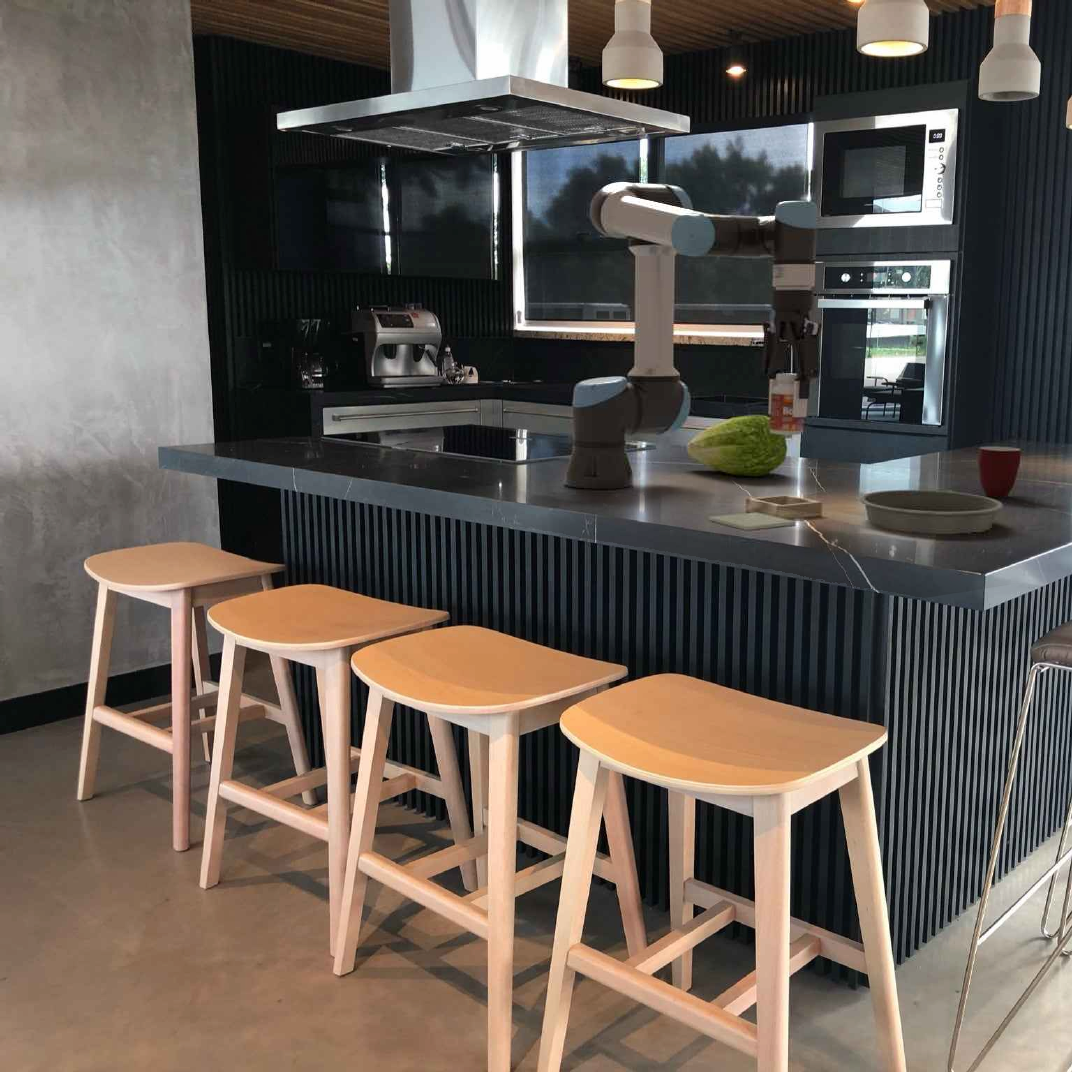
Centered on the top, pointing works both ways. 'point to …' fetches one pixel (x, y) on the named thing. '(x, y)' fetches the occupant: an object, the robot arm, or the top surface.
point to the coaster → (752, 521)
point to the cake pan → (930, 511)
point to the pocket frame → (784, 506)
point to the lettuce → (740, 446)
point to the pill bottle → (784, 407)
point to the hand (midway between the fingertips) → (787, 415)
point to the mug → (998, 470)
